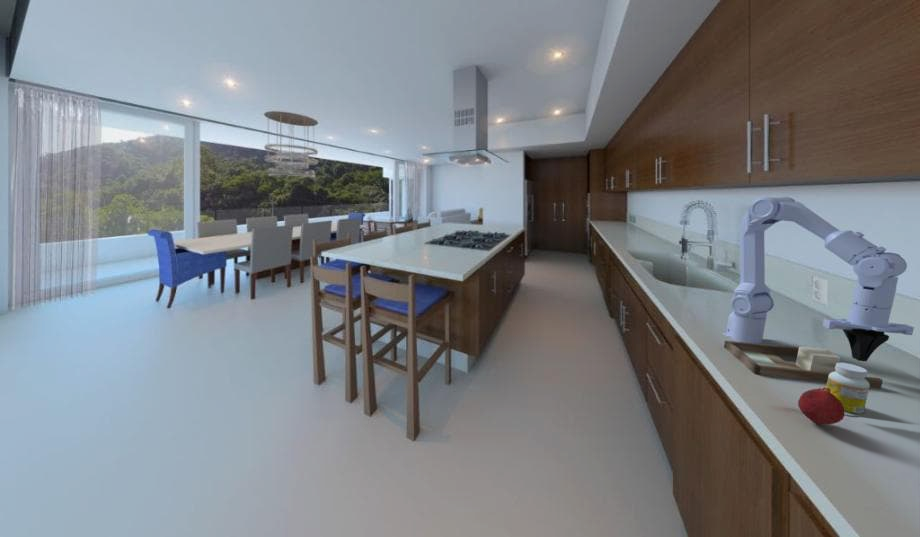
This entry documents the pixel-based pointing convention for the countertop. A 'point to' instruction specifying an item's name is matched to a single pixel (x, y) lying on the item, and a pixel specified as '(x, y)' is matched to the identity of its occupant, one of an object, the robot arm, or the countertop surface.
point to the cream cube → (816, 359)
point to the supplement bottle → (849, 387)
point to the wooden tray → (779, 362)
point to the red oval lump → (821, 406)
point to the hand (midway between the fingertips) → (859, 359)
